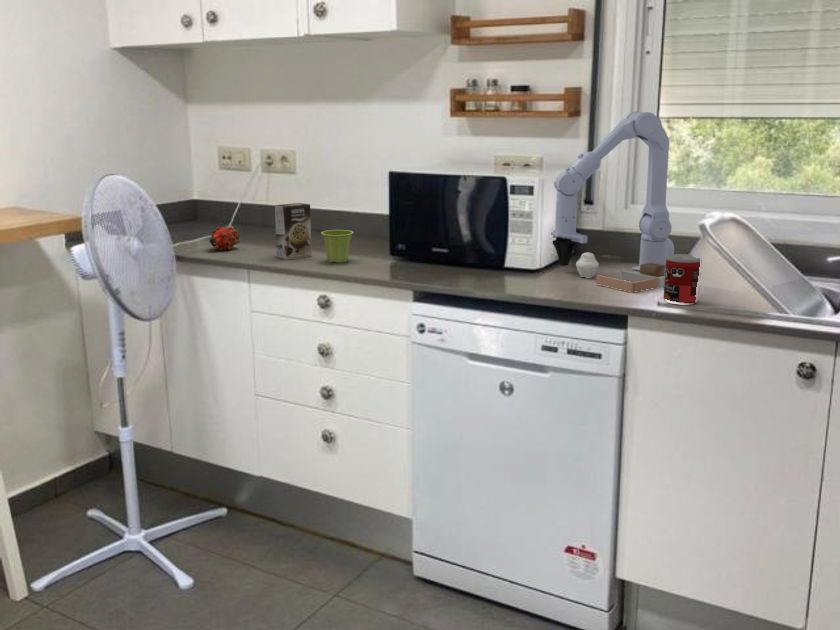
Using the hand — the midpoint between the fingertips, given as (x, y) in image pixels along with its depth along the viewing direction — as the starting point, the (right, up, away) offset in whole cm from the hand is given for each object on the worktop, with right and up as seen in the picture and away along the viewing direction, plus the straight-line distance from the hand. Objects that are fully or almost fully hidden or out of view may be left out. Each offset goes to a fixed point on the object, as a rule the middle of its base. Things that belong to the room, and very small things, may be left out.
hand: (564, 265), depth 237 cm
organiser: (+17, -6, -14) cm, 23 cm away
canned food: (+22, -11, -34) cm, 42 cm away
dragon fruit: (-103, +7, +35) cm, 109 cm away
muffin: (+5, -4, -6) cm, 9 cm away
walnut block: (+21, -5, -11) cm, 25 cm away
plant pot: (-65, +2, +17) cm, 67 cm away
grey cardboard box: (-79, +4, +23) cm, 82 cm away
